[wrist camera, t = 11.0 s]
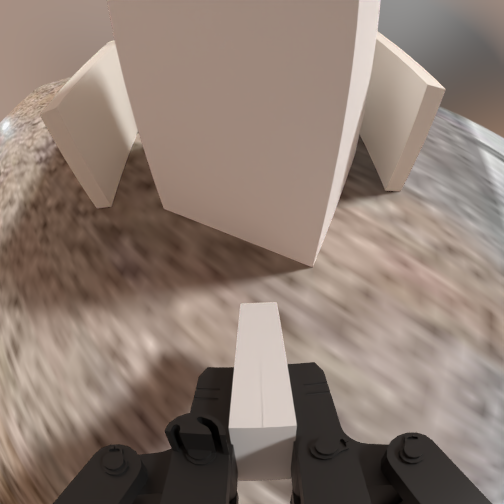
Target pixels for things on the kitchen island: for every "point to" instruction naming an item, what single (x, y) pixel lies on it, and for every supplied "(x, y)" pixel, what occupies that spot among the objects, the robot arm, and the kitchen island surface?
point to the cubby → (125, 129)
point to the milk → (249, 109)
